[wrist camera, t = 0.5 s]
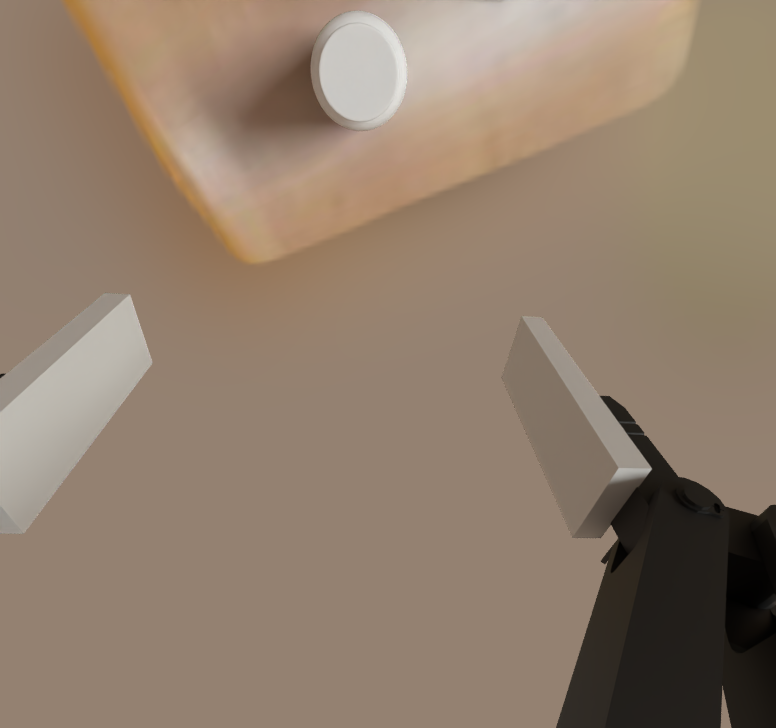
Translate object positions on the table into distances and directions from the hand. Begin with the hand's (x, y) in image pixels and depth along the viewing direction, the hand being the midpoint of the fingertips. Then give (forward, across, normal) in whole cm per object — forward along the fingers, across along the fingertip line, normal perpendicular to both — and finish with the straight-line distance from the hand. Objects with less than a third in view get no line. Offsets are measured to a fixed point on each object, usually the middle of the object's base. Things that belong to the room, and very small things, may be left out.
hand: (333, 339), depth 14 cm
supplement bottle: (+22, 0, +8) cm, 24 cm away
